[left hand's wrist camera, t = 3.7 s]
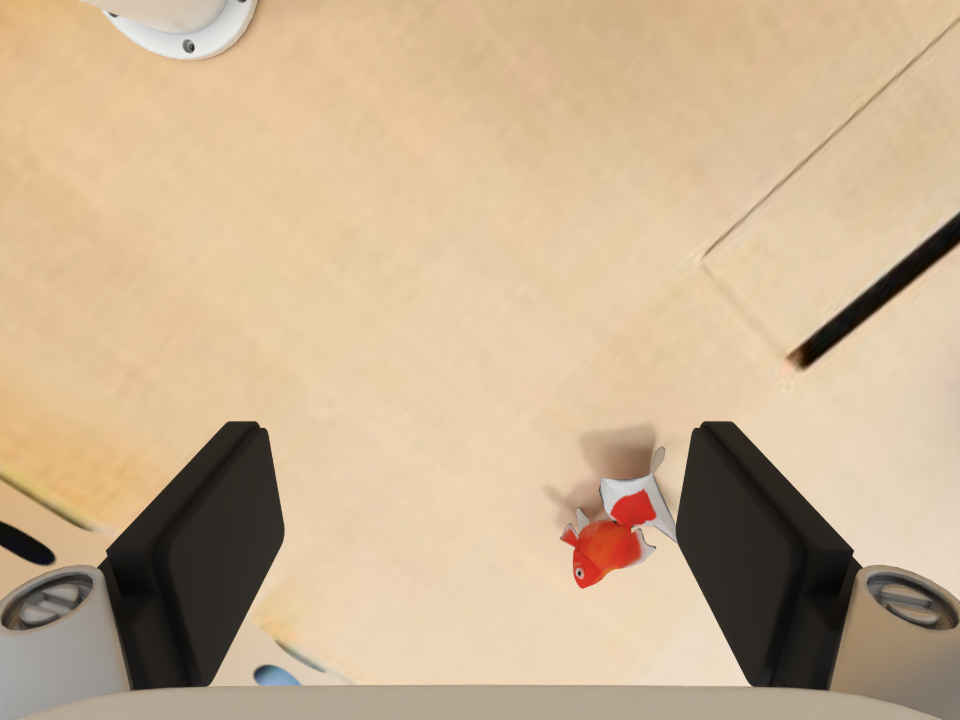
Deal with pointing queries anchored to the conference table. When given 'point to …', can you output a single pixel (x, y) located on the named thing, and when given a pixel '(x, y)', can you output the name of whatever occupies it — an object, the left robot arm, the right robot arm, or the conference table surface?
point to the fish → (619, 527)
